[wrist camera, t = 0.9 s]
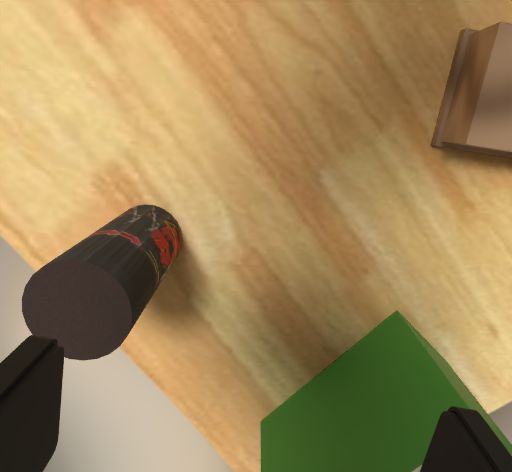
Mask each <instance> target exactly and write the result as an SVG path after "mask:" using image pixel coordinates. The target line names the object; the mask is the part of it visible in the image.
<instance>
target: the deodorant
mask: <svg viewBox="0 0 512 472" xmlns="http://www.w3.org/2000/svg"><path fill="white" fill-rule="evenodd" d="M181 245H182V234H181V229H180V227H179V225H178V223H177V221H176V220H175V219H174V217H173V216H172V215H171V214H170V213H168V212H167V211H166V210H164V209H162V208H160V207H157V206H153V205H140V206H136V207H133V208H131V209H129V210H128V211H126V212H125V213H123V214H122V215H120V216H118V217H117V218H115V219H114V220H112V221H111V222H109V223H108V224H106V225H105V226H103V227H102V228H100V229H99V230H97V231H96V232H94V233H93V234H91V235H90V236H88V237H87V238H85V239H84V240H82V241H81V242H79V243H78V244H76V245H75V246H73V247H72V248H70V249H69V250H67V251H66V252H64V253H63V254H61V255H60V256H58V257H57V258H55V259H54V260H52V261H51V262H49V263H48V264H46V265H45V266H43V267H42V268H41V269H40V270H38V271H37V272H36V273H35V274H33V275H32V277H31V278H30V280H29V281H28V283H27V284H26V286H25V289H24V293H23V297H22V312H23V316H24V319H25V322H26V325H27V326H28V328H29V330H30V331H31V333H32V334H33V335H35V336H41V337H46V338H52V339H56V340H57V342H58V346H62V347H63V348H64V357H66V358H69V359H77V360H91V359H98V358H100V357H102V356H105V355H108V354H110V353H111V352H113V351H114V350H115V349H117V348H118V347H119V346H120V345H121V344H122V342H123V341H124V340H125V339H126V337H127V336H128V334H129V333H130V331H131V329H132V328H133V326H134V324H135V323H136V321H137V320H138V318H139V316H140V315H141V313H142V312H143V310H144V308H145V307H146V305H147V303H148V302H149V300H150V299H151V297H152V295H153V294H154V292H155V291H156V289H157V287H158V286H159V284H160V282H161V281H162V279H163V278H164V276H165V274H166V273H167V271H168V270H169V268H170V266H171V265H172V263H173V261H174V260H175V258H176V257H177V255H178V253H179V251H180V248H181Z"/></svg>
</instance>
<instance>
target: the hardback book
mask: <svg viewBox="0 0 512 472" xmlns="http://www.w3.org/2000/svg"><path fill="white" fill-rule="evenodd" d="M452 406H455V407H461V408H467V409H473V410H476V411H478V412H479V413H480V414H481V416H482V417H483V418H484V420H485V421H486V422H487V424H488V425H489V426H490V428H491V429H492V430H493V432H494V433H495V434H496V436H497V437H498V438H499V440H500V441H501V442H502V444H503V445H504V446H505V448H506V449H507V450H508V452H509V453H510V454H511V456H512V444H511V443H510V442H509V441H508V439H507V438H506V437H505V436H504V434H503V433H502V432H501V431H500V429H499V428H498V427H497V425H496V424H495V423H494V422H493V420H492V419H491V418H490V417H489V415H488V414H487V413H486V411H485V410H484V409H483V407H482V406H481V405H480V404H479V402H478V401H477V400H476V399H475V397H474V396H473V395H472V393H471V392H470V391H469V390H468V388H467V387H466V386H465V384H464V383H463V382H462V381H461V379H460V378H459V377H458V376H457V374H456V373H455V372H454V370H453V369H452V368H451V367H450V365H449V364H448V363H447V362H446V360H445V359H444V358H443V357H442V356H441V355H440V354H439V353H438V352H437V351H436V350H435V349H434V348H433V347H432V346H431V345H430V344H429V343H428V342H427V341H426V340H425V339H424V338H423V337H422V335H421V334H420V333H419V332H418V331H417V330H416V329H415V328H414V327H413V326H412V325H411V324H410V323H409V322H408V321H407V320H406V319H405V318H404V317H403V316H402V315H401V314H400V313H399V312H398V311H395V312H394V313H393V314H392V315H391V316H389V317H388V318H387V319H386V320H384V321H383V322H382V323H381V324H380V325H378V326H377V327H376V328H375V329H373V330H372V331H371V332H370V333H368V334H367V335H366V336H365V337H364V338H362V339H361V340H360V341H359V342H357V343H356V344H355V345H354V346H353V347H351V348H350V349H349V350H348V351H346V352H345V353H344V354H343V355H342V356H340V357H339V358H338V359H337V360H335V361H334V362H333V363H332V364H331V365H329V366H328V367H327V368H326V369H324V370H323V371H322V372H321V373H320V374H318V375H317V376H316V377H315V378H313V379H312V380H311V381H310V382H309V383H307V384H306V385H305V386H304V387H302V388H301V389H300V390H299V391H298V392H296V393H295V394H294V395H293V396H291V397H290V398H289V399H288V400H287V401H285V402H284V403H283V404H282V405H280V406H279V407H278V408H277V409H276V410H274V411H273V412H272V413H271V414H269V415H268V416H267V417H266V418H265V419H263V420H262V421H261V472H420V469H421V467H422V464H423V461H424V458H425V456H426V453H427V450H428V447H429V445H430V442H431V439H432V437H433V434H434V431H435V428H436V426H437V423H438V420H439V417H440V415H441V413H442V412H443V411H447V410H448V409H449V408H450V407H452Z"/></svg>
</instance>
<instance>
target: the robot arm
mask: <svg viewBox="0 0 512 472" xmlns="http://www.w3.org/2000/svg"><path fill="white" fill-rule="evenodd" d="M63 364H64V348H63V347H62V346H58V342H57V340H56V339H52V338H46V337H41V336H35V335H31V336H29V337H28V338H27V339H26V340H25V341H23V342H22V343H21V344H20V345H19V346H18V347H17V348H16V349H15V350H14V351H13V352H12V353H11V354H10V355H9V356H8V357H6V358H5V359H4V360H3V361H2V362H1V363H0V472H43V470H44V468H45V467H46V465H47V464H48V462H49V460H50V459H51V457H52V455H53V453H54V451H55V449H56V446H57V442H58V434H59V420H60V406H61V391H62V378H63ZM420 472H512V456H511V454H510V453H509V452H508V450H507V449H506V448H505V446H504V445H503V444H502V442H501V441H500V440H499V438H498V437H497V436H496V434H495V433H494V432H493V430H492V429H491V428H490V426H489V425H488V424H487V422H486V421H485V420H484V418H483V417H482V416H481V414H480V413H479V412H478V411H476V410H473V409H467V408H461V407H455V406H452V407H450V408H449V409H448V410H447V411H443V412H442V413H441V415H440V417H439V420H438V423H437V426H436V428H435V431H434V434H433V437H432V439H431V442H430V445H429V447H428V450H427V453H426V456H425V458H424V461H423V464H422V467H421V469H420Z"/></svg>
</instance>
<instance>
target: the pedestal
mask: <svg viewBox="0 0 512 472" xmlns="http://www.w3.org/2000/svg"><path fill="white" fill-rule="evenodd" d="M431 145H433V146H439V147H445V148H452V149H458V150H464V151H470V152H477V153H483V154H489V155H495V156H502V157H508V158H512V24H508V23H502V22H499V23H497V24H495V25H492V26H490V27H487V28H485V29H483V30H480V31H477V30H472V29H463V30H461V32H460V35H459V39H458V43H457V47H456V51H455V55H454V59H453V62H452V66H451V70H450V74H449V78H448V82H447V85H446V89H445V93H444V97H443V101H442V105H441V109H440V112H439V116H438V120H437V124H436V128H435V132H434V136H433V139H432V143H431Z"/></svg>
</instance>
